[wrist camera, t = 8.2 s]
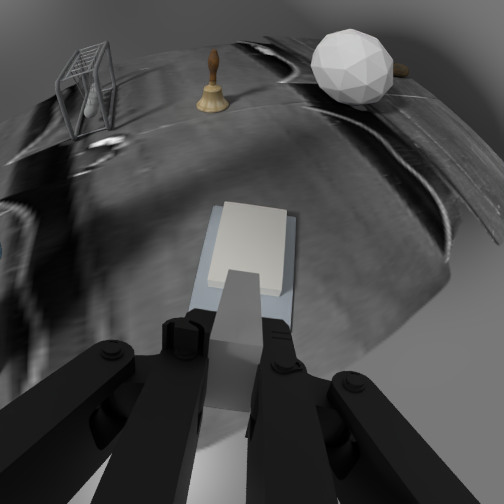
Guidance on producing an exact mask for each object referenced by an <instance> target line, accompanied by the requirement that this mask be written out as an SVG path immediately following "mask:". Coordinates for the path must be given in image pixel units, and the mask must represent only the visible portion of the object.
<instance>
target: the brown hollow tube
mask: <svg viewBox="0 0 504 504" xmlns="http://www.w3.org/2000/svg"><path fill="white" fill-rule="evenodd" d="M408 74H409V70H408V68H407V67H406V66H405V65H402V64H397V63H393V76H398V77H406V76H407V75H408Z"/></svg>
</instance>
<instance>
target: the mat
mask: <svg viewBox="0 0 504 504" xmlns="http://www.w3.org/2000/svg"><path fill="white" fill-rule="evenodd" d="M222 211H223V207H222V206H213V210H212V214H211V218H210V222H209V226H208V230H207V234H206V238H205V242H204V246H203V250H202V254H201V259H200V263H199V267H198V271H197V276H196V280H195V285H194V289H193V294H192V298H191V303H190V307H189V311H191V310H192V309H194V308H198V309H204V310H210V311H217V310H218V306H219V302H220V299H221V295H222V292H223V289H220V288H214V287H208V281H207V279H208V274H209V269H210V265H211V260H212V255H213V251H214V246H215V242H216V237H217V233H218V228H219V224H220V220H221V215H222ZM295 232H296V217H291V216H287V218H286V235H285V251H284V266H283V279H282V291H281V293H280V295H279V297H277V296H269V295H262V294H260V296H261V315H262V317H266V318H274V319H283V320H284V321H285V322H286V323H287V324H288V325H289V327H290V326H291V311H292V295H293V277H294V257H295Z"/></svg>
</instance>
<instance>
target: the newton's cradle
mask: <svg viewBox="0 0 504 504" xmlns="http://www.w3.org/2000/svg"><path fill="white" fill-rule="evenodd" d="M101 44H104V45H103V47H102V50H101V52H100V54H99V57H98V59H97V61H96V64H95V66H93V69H92V63H93V65H94V59H95V58H96V54H97V52H98V50H99V48H100V45H101ZM97 45H99V47H98V49H97V51H96V52H95V55H94V57H93V60H92V61H91V64H90V65H89V69H88V68H87V69H88V71H85V72H84V68H83V63H82V59H81V53H82V51H83V50H85V49H88V48H91V47H94V46H97ZM97 45H94V46H90V47H87V48H84V49H81V50H78V49H77V50H76V51H75V52H74V54H73V55H72V57H71V58H70V60H69V61H68V63H67V64H66V66H65V67H64V69H63V71H62V72H61V74H60V75H59V77H58V79H57V80H56V82H55V91H56V95H57V98H58V101H59V104H60V108H61V111H62V114H63V117H64V120H65V123H66V125H67V128H68V131H69V134H70V137H71V139H72V140H73V141H75V140H77V138H78V137H80V136H84V135H87V134H90V133H93V132H96V131H100V130H103V129H107V130H110V129H111V126H112V116H113V106H114V98H115V90H116V82H115V76H114V70H113V64H112V58H111V52H110V45H109V41H105V42H104V43H100V44H97ZM105 49H106V50H107V56H108V62H109V68H110V74H111V79H112V86H113V87H112V88H109V89H112V94H111V101H110V108H109V115H108V116H107V112H106V108H105V104H104V99H103V95H102V91H106V90H109V89H105V90H102V88H103V85H102V83H101V82H100V81H99V76H98V68H99V66H100V63H101V60H102V57H103V55H104V52H105ZM80 51H81V52H80ZM76 55H77V58H76V60H75V62H74V63H73V65H72V67H71V68H70V70H69V72H68V74H67V76H66V77H65V79H63V80H62V78H63V76H64V74H65V72H66V71H67V69H68V68H69V66H70V65H71V63H72V61H73V60H74V58H75V56H76ZM85 56H86V55H85ZM82 58H83V56H82ZM77 59H78V61H79V66H80V68H79V69H80V71H81V73H79V74H76V75H73V74H72V76H71V77H68V75H69V73H70V72H71V69H72V68H73V67H74V64H75V63H77V62H76V61H77ZM83 60H84V59H83ZM95 60H96V59H95ZM84 62H85V61H84ZM85 64H86V63H85ZM77 65H78V64H77ZM79 66H78V67H79ZM90 68H91V70H90ZM74 69H75V68H74ZM92 71H93V78H92ZM87 72H89V78H88V80H89V87H88V85H87V81H86V77H85V73H87ZM90 72H91V74H90ZM71 73H72V72H71ZM76 73H77V72H76ZM78 75H82V79H83V84H84V86H83V84H82V82H81V80H80V82H81V84H82V86H83V88H84V90H85V98H84V96H83V94H82V92H81V90H80V89H79V90H80V92H81V94H82V96H83V98H84V101H83V104H82V108H81V111H80V115H79V118H78V122H77V125H76V129H75V133H74V132H73V129H72V126H71V123H70V120H69V117H68V114H67V111H66V108H65V104H64V101H63V98H62V95H61V91H60V82H61V81H64V80H66V79H69V78H72V77H73V78H74V77H75V76H78ZM86 75H87V74H86ZM90 75H91V82H90ZM67 77H68V78H67ZM78 77H79V76H78ZM87 77H88V76H87ZM79 79H80V78H79ZM92 79H93V84H92ZM74 80H75V79H74ZM75 82H76V81H75ZM76 84H77V82H76ZM90 84H91V90H90ZM77 86H78V85H77ZM78 88H79V87H78ZM88 88H89V90H88ZM101 90H102V91H101ZM89 91H90V92H89ZM87 100H88V101H87ZM99 103H100V108H101V111H102V115H103V119H104V123H105V128H101V129H98V130H95V131H91V132H88V133H85V134H82V135H79V136H78V133H79V129H80V125H81V121H82V117H83V113H84V115H85V116H86V117H87V118H92V117H94V116H95V115H96V114H97V111H98V109H97V108H98V106H99ZM85 106H86V107H85Z"/></svg>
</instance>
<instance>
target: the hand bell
mask: <svg viewBox="0 0 504 504" xmlns="http://www.w3.org/2000/svg"><path fill="white" fill-rule="evenodd" d="M218 66H219V56H218V53H217V50H216V49H212V50H211V53H210V55H209V58H208V67H209V70H210V80H209V81H210V82H209V85H207V86H205V87H204V91H203V96H202V98H201V100H199V101H198V103H197V108H198V109H199V110H200V111H203V112H210V113H214V112H220V111H223V110H225V109H227V108H228V106H229V103H228V101H227V100H226V99H224V97H223V94H222V88H221V86H219V85H217V84H216V72H217V69H218Z"/></svg>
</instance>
